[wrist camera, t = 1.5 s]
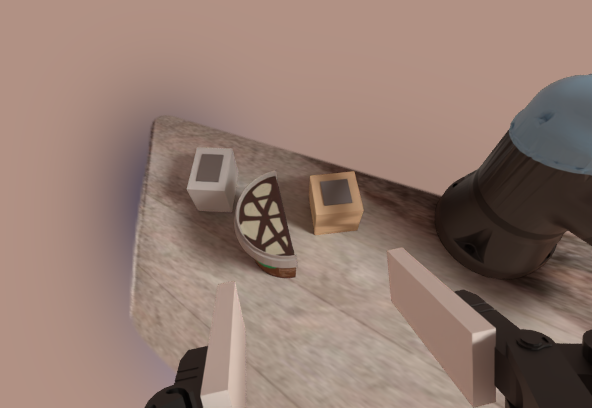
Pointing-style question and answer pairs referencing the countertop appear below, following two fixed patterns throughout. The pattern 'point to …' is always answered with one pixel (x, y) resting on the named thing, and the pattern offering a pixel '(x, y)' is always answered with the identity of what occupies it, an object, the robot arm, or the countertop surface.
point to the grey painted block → (213, 179)
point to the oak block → (335, 203)
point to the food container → (265, 227)
